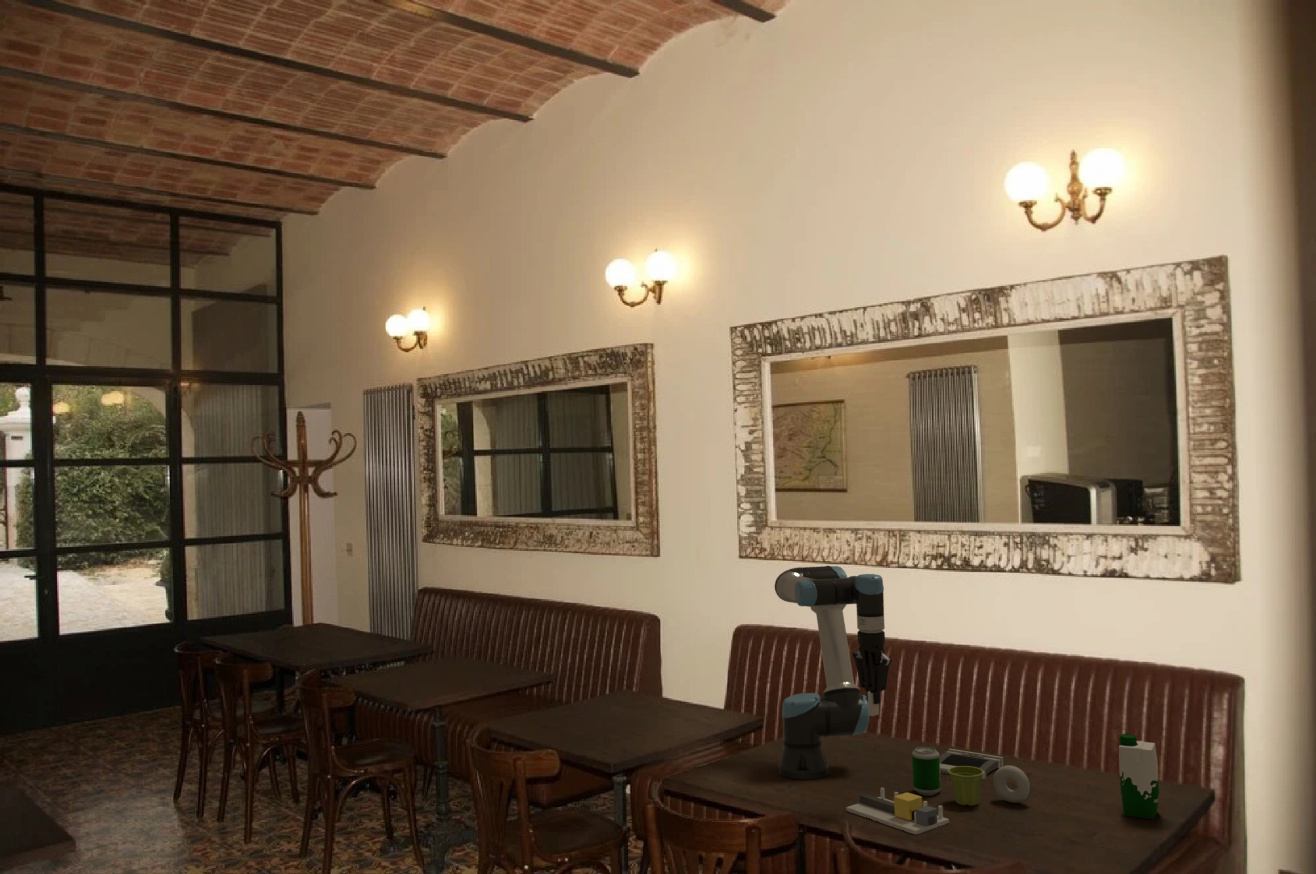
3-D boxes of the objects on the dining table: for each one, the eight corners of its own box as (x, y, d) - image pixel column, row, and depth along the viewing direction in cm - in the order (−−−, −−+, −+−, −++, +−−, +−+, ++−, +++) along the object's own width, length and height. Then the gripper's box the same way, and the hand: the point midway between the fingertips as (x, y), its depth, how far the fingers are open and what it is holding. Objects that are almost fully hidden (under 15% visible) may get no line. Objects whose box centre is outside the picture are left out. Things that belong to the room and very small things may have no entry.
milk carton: (1124, 806, 272) (1120, 731, 273) (1161, 811, 268) (1157, 734, 268) (1119, 816, 265) (1115, 739, 265) (1158, 821, 260) (1154, 742, 261)
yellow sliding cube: (894, 815, 267) (893, 796, 268) (907, 811, 270) (907, 792, 271) (909, 820, 263) (908, 801, 264) (922, 816, 266) (921, 797, 267)
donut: (1032, 804, 276) (1031, 767, 277) (1028, 807, 274) (1026, 770, 274) (997, 797, 283) (995, 761, 283) (992, 801, 280) (990, 764, 281)
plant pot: (967, 810, 273) (965, 778, 274) (942, 801, 282) (940, 769, 282) (992, 804, 278) (991, 772, 278) (967, 795, 286) (965, 764, 286)
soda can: (941, 796, 285) (940, 753, 286) (914, 796, 287) (912, 753, 287) (940, 788, 293) (938, 746, 293) (913, 787, 294) (911, 746, 294)
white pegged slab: (846, 811, 276) (845, 793, 276) (879, 800, 284) (878, 784, 284) (915, 835, 257) (914, 816, 257) (949, 823, 264) (948, 805, 264)
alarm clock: (1003, 757, 311) (981, 765, 299) (1003, 772, 311) (981, 782, 298) (950, 748, 322) (926, 756, 310) (950, 763, 322) (927, 772, 310)
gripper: (844, 629, 287) (847, 712, 287) (878, 635, 276) (881, 722, 276) (863, 625, 291) (866, 707, 291) (897, 631, 281) (900, 717, 281)
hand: (873, 714), depth 284 cm, fingers closed
